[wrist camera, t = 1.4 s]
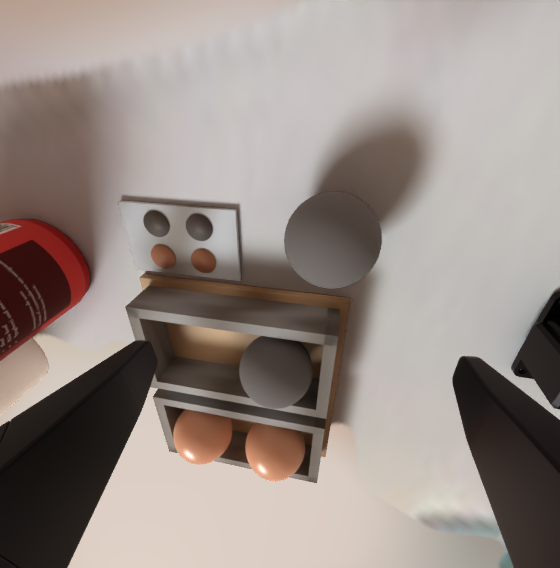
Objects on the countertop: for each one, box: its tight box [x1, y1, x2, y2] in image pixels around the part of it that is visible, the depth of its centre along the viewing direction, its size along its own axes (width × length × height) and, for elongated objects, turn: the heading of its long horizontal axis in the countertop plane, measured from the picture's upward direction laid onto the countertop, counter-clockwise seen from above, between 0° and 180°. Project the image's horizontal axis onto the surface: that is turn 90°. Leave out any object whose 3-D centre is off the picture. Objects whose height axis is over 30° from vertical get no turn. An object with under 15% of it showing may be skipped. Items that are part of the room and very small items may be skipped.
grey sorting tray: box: [118, 200, 350, 483], centre depth 24 cm, size 16×24×3 cm, turn 0°
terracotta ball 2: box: [245, 422, 305, 481], centre depth 26 cm, size 5×5×5 cm
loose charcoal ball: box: [284, 192, 382, 289], centre depth 16 cm, size 5×5×5 cm
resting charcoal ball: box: [239, 336, 313, 409], centre depth 21 cm, size 5×5×5 cm
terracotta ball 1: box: [173, 409, 232, 464], centre depth 27 cm, size 5×5×5 cm
